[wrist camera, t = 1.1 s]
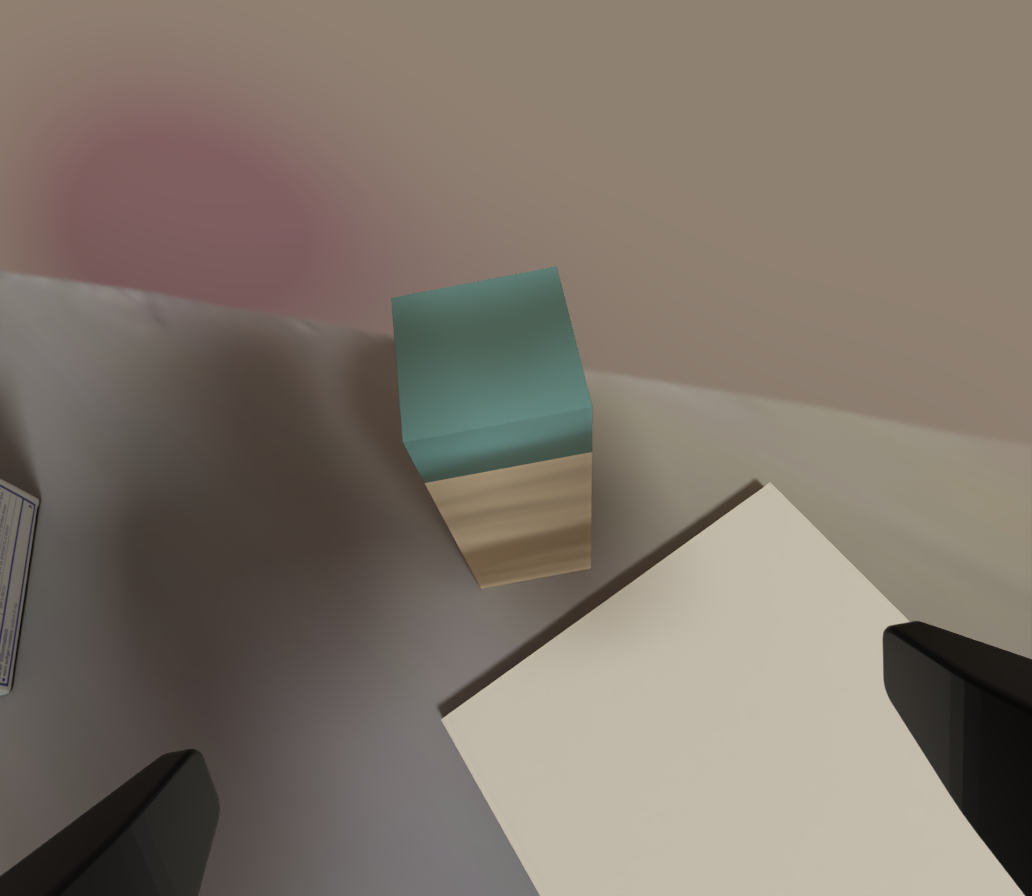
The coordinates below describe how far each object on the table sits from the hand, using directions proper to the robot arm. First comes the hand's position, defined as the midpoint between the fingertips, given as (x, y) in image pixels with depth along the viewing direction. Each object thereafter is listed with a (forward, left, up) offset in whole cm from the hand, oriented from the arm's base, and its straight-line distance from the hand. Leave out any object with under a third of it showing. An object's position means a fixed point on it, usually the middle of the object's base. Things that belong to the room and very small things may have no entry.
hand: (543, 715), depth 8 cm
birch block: (+3, +7, -13) cm, 16 cm away
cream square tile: (+4, -4, -13) cm, 15 cm away
